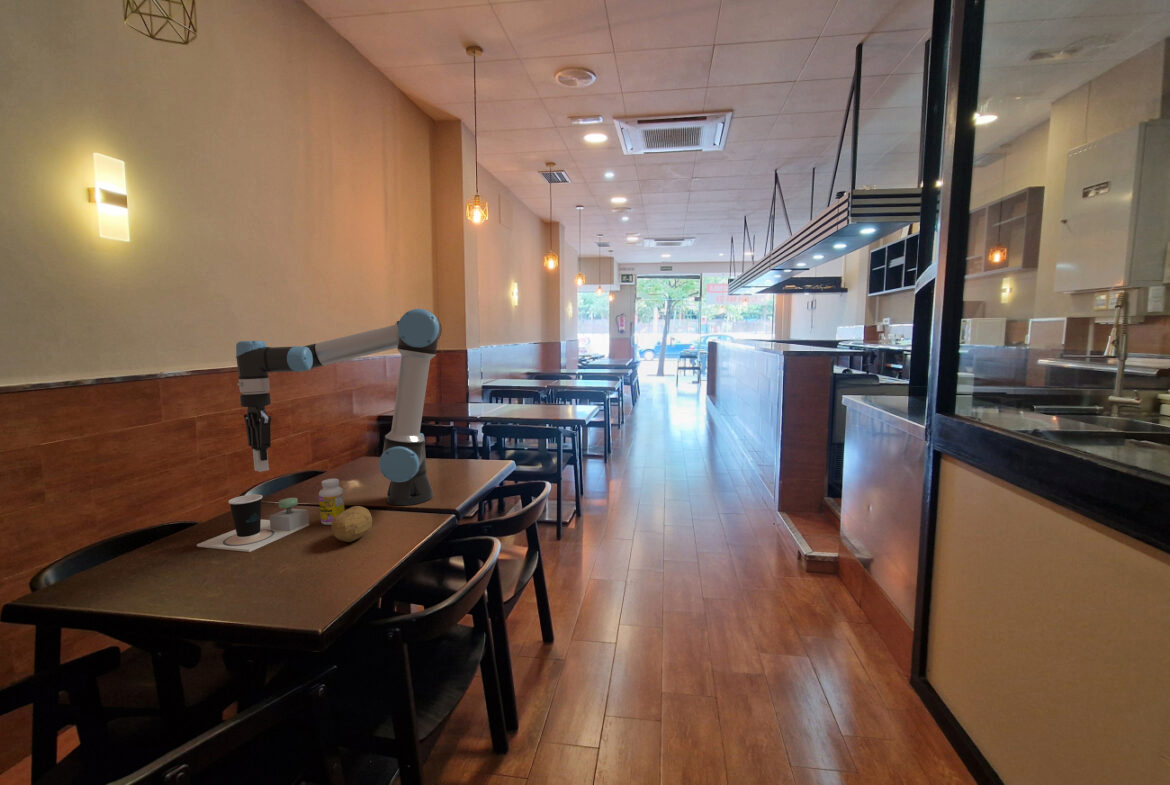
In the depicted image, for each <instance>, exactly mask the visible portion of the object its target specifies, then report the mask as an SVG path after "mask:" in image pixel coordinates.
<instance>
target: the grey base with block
mask: <svg viewBox="0 0 1170 785" xmlns="http://www.w3.org/2000/svg"><path fill="white" fill-rule="evenodd" d="M308 526H309V527H310V517H309V509H305V508H304V509H302V508H292V513H291V514H286V509H284V510H281V511H278V512H276V513H274V514H271V515H269V519H262V518H261V525H260V532H259V536H258V537H256V538H253V539H249V540H239V538H238V536H237V533H236V529H233V530H230V531H228V532H226V533H222V534H219V535H217V536H214V537H212V538H209V539H207V540H204V541H202V542H200V543H197V544H196V547H198V548H207V549H217V550H227V551H237V552H246V553H250V552H253V551H256V550H257V549H259V548H260V549H261V548H262V547H264V546H267V545H269V544H270V543H273V542H276V541H277V540H280V539H282V538H284V537H286V536H288V535H291V534H293V533H295V532H297V531H301V530H302V529H304V528H307V527H308Z"/></svg>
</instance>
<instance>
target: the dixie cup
mask: <svg viewBox="0 0 1170 785" xmlns="http://www.w3.org/2000/svg"><path fill="white" fill-rule="evenodd" d="M262 498H263V495H262V494H255V493H254V494H247V495H241V496H237V497H233V498H231V499H229V500H228V502H227V503H228V504H229V506H230V510H231V516H232V520H233V524H234V528H235V529H236V533H237V536H238V538H239V540H249V539H253V538H256V537H258V536H259V532H260V525H261V519H262V518H261V517H262ZM235 529H234V530H235Z"/></svg>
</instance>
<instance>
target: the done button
mask: <svg viewBox="0 0 1170 785" xmlns="http://www.w3.org/2000/svg"><path fill="white" fill-rule="evenodd" d="M295 506H298V497H287V498H283V499H280V500H278V508H280V509H285V510H286V514H291V513H292V509H293V508H294V507H295Z"/></svg>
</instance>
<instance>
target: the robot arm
mask: <svg viewBox="0 0 1170 785" xmlns="http://www.w3.org/2000/svg"><path fill="white" fill-rule="evenodd" d="M441 336H442V324H441V322H440V319H439V318H438V317H437V316H436V315H435V314H433V313H432V312H431V311H429V310H427V309H424V308H413V309H410V310H407V311H406V312H405V313H404V314H403V315H402V316H401V317H400V319H399V320H397V321H396V322H395V323H394V324H393V325H388V326H384V327H379V328H377V329H371V330H367V331H364V332H363V331H362V332H358V333H355V334H354V333H353V334H351V335H347V336H342V337H339V338H334V339H333V338H332V339H329V340H325V341H322V342H321V341H320V342H317V343H312V344H308V345H304V346H302V345H301V346H299V345H298V346H297V345H296V346H277V347H275V346H273V347H271V346H267V344H266V342H265V340H240V341H238V342H237V343H235V344H236V345H235V351H236V352H235V354H236V355H235V358H236V365H237V366H236V367H237V373H238V374H237V376H238V377H237V378H238V382H237V383H236V385H237V386H239V392H240V393H242V394H240V396H239V400H240V407H242V408H247V410H246V411H247V413H246V414H243V419H244V423H245V429H246V435H247V442H248V446H249V447H251V450H252V454H253V455H252V456H253V468H254V471H255V472H258V473H262V472H267V471H269V470H270V467H269V456H268V455H269V453H268V449H269V448H272V447H271V446H272V443H271V441H272V438H271V422H272V416H271V415H268V413H267V411H266V407H267V406H269V405H271V393H270V392H269V391H270V378H269V373H293V372H296V373H299V372H300V373H301V372H308V371H311V370H313V369H315V368H319V367H322V366H327V365H332V364H334V363H340V362H344V361H348V360H352V359H356V358H360V357H364V356H368V355H372V354H377V353H382V352H385V351H390V350H394V349H397V351H398V352H399V353H400V356H401V360H400V366H399V374H398V380H397V381H398V382H397V388H396V394H395V402H394V408H393V416H392V424H391V430H390V431H389V432H388V433H387V434H385V438H384V442H383V450H382V454H381V455H380V457H379V460H378V465H379V466H378V467H379V471H380V472H381V475H383V477H385V478H386V479H387V480H389V486H388V489H387V493H386V503H387V504H389V505H392V506H409V505H416V504H421V503H424V502H427V501H429V500H431V499H433V497H434V491H433V487H432V485H431V482H430V480H429V477H428V474H427V457H426V444H425V443H426V440H425V435H424V433H422V432H421V427H422V420H423V413H424V406H425V399H426V390H427V385H428V380H429V379H428V378H429V373H430V372H429V371H430V364H431V360H432V359H434V357H436V356H437V351H438V350H437V348H438V342H439V340H440V338H441Z"/></svg>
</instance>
